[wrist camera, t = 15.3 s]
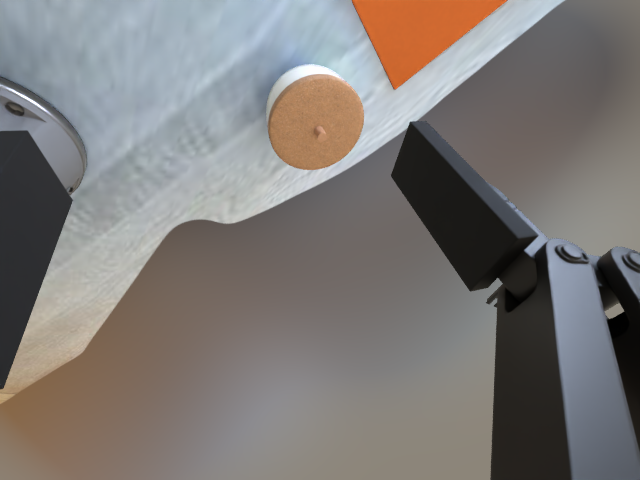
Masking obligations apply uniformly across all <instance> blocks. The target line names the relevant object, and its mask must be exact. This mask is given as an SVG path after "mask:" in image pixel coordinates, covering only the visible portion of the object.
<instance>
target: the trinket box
mask: <svg viewBox="0 0 640 480" xmlns="http://www.w3.org/2000/svg"><path fill="white" fill-rule="evenodd" d="M266 122H267V127H268V133H269V138H270V141H271V144H272V147H273V149H274V151H275V152H276V154H277V155H278V156H279V157H280V158H281V159H282V160H283V161H284V162H285V163H287V164H289V165H290V166H293V167H295V168H299V169H305V170H316V169H321V168H325V167H328V166H330V165H332V164H335V163H336V162H338V161H340V160H341V159H342V158H343V157H345V156H346V155H347V154H348V153H349V152H350V151H351V150H352V148H353V147H354V146H355V144H356V142H357V141H358V139H359V137H360V134H361V132H362V128H363V122H364V110H363V106H362V103H361V100H360V98H359V96H358V95H357V93H356V92H355V90H354V89H353V88H352V87H351V86H350V85H349V84H348V83H347V82H346V81H345V80H344V79H343V78H342V77H341V76H339V75H338V74H336V73H335V72H334V71H332V70H330V69H328V68H326V67H323V66H319V65H313V64H307V65H301V66H297V67H294V68H292V69H290V70H288V71H287V72H286V73H284V74H283V75H282V76H281V77H280V78H279V79H278V80H277V81H276V83H275V84H274V85H273V87H272V89H271V91H270V94H269V97H268V100H267V106H266Z"/></svg>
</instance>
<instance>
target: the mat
mask: <svg viewBox="0 0 640 480" xmlns="http://www.w3.org/2000/svg"><path fill="white" fill-rule="evenodd" d="M506 1H507V0H352V3H353V5H354V7H355V9H356V11H357V13H358V15H359V17H360V19H361V21H362V23H363V25H364V28H365V30H366V32H367V34H368V36H369V38H370V40H371V42H372V44H373V46H374V48H375V50H376V52H377V55H378V57H379V59H380V61H381V63H382V65H383V67H384V69H385V71H386V73H387V75H388V77H389V80H390V82H391V84H392V86H393V88H394V89H397V88H398V87H399V86H400V85H402V84H403V83H404V82H405V81H407V80H408V79H409V78H410V77H412V76H413V75H414V74H416V73H417V72H418V71H419V70H421V69H422V68H423V67H424V66H426V65H427V64H428V63H429V62H431V61H432V60H433V59H434V58H436V57H437V56H438V55H439V54H441V53H442V52H443V51H444V50H446V49H447V48H448V47H449V46H451V45H452V44H453V43H455V42H456V41H457V40H458V39H460V38H461V37H462V36H463V35H465V34H466V33H467V32H468V31H470V30H471V29H472V28H473V27H475V26H476V25H477V24H478V23H480V22H481V21H482V20H483V19H485V18H486V17H487V16H488V15H490V14H491V13H492V12H493V11H495V10H496V9H497V8H499V7H500V6H501V5H502V4H504V3H505V2H506Z"/></svg>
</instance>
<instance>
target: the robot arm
mask: <svg viewBox="0 0 640 480" xmlns="http://www.w3.org/2000/svg"><path fill="white" fill-rule="evenodd" d="M86 165H87V156H86V151H85V148H84V145H83V143H82V141H81V139H80V137H79V135H78V134H77V132H76V131H75V129H74V128H73V127H72V126H71V124H70V123H69V122H68V121H67V120H66V119H65V118H64V117H63V116H62V115H61V114H60V113H59V112H58V111H57V110H56V109H55V108H53V107H52V106H51V105H50V104H48V103H47V102H46V101H44V100H43V99H41V98H40V97H38V96H37V95H35V94H34V93H32V92H30V91H29V90H27V89H25V88H23V87H21V86H19V85H17V84H15V83H13V82H11V81H9V80H7V79H4V78H2V77H0V389H3V388H4V385H5V383H6V380H7V377H8V375H9V372H10V369H11V366H12V364H13V361H14V358H15V356H16V353H17V350H18V347H19V345H20V342H21V339H22V337H23V334H24V331H25V328H26V326H27V323H28V320H29V318H30V315H31V312H32V309H33V307H34V304H35V301H36V299H37V296H38V293H39V290H40V288H41V285H42V282H43V280H44V277H45V274H46V271H47V269H48V266H49V263H50V261H51V258H52V255H53V252H54V250H55V247H56V244H57V242H58V239H59V236H60V234H61V231H62V228H63V225H64V223H65V220H66V217H67V215H68V212H69V209H70V206H71V204H72V201H73V200H72V198H71V197H70V195H71V194H72V193H73V192H74V191H75V190H76V189H77V188H78V186H79V185H80V183H81V181H82V178H83V176H84V173H85V170H86ZM391 177H392V178H393V180H394V181H395V183H396V184H397V186H398V187H399V189H400V190H401V191H402V193H403V194H404V196H405V197H406V199H407V200H408V201H409V203H410V204H411V206H412V208H413V209H414V210H415V212H416V213H417V215H418V216H419V218H420V219H421V221H422V222H423V224H424V225H425V226H426V228H427V229H428V231H429V232H430V234H431V235H432V237H433V238H434V239H435V241H436V243H437V244H438V245H439V247H440V248H441V250H442V251H443V252H444V254H445V256H446V257H447V259H448V260H449V261H450V263H451V264H452V266H453V267H454V268H455V270H456V271H457V273H458V275H459V276H460V277H461V279H462V280H463V282H464V283H465V285H466V286H467V288H468V289H469V291H475V290H479V289H484V288H488V287H489V286H490V285H491V284H492V283H493V282H494V281H495V280H496V278H499V279H500V281H501V282H502V283H503V284H502V285H501V286H500V287H499V288H498V289H497V290H496V291H495V292H494V293H493V294H492V295H491V296H490V297H489V298H488V299H487V302H486V303H487V304H490V303H491V302H492V301H493V300H494V299H495V298H498V300H497V303H496V304H495V305H494V307H497V326H496V353H495V354H496V355H495V377H494V403H493V404H494V405H493V431H492V455H491V480H640V253H638V252H637V251H635V250H631V249H628V248H625V247H615V248H612V249H611V250H610V251H608V252H607V253H606V254H605V255H603V256H602V257H601V256H593V255H587V254H586V253H585V252H584V251H583V250H582V249H581V248H579V247H578V246H577V245H575V244H573V243H571V242H569V241H567V240H563V239H559V238H554V239H553V238H552V239H550V240H549V239H548V238H547V237H546V236H545V235H544V234H543V233H542V232H541V231H540V230H539V229H538V228H537V227H536V226H535V225H534V224H533V223H532V222H531V221H530V220H529V219H528V218H527V217H526V216H525V215H524V214H523V213H522V212H521V211H520V210H517V207H516V206H515V205H514V204H513V203H512V202H509V199H508V198H506V196H505V195H504V194H503V193H502V192H501V191H499V190H498V189H497V188H495V187H493V186H492V185H490V184H489V183H487V182H486V181H485V180H484V179H483V178H482V177H481V176H480V175H479V174H478V173H477V172H476V171H475V170H474V169H473V168H472V167H471V166H470V165H469V164H468V163H467V162H466V161H465V160H464V159H463V158H462V157H461V156H460V155H459V154H458V153H457V152H456V151H455V150H454V149H453V148H452V147H451V146H450V145H449V144H448V143H447V142H446V141H445V140H444V139H443V138H442V137H441V136H440V135H439V134H438V133H437V132H436V131H435V130H434V129H433V128H432V127H431V126H430V125H429V124H428V123H427V122H426V121H420V122H419V121H418V122H410V124H409V127H408V129H407V132H406V135H405V138H404V141H403V143H402V146H401V149H400V152H399V155H398V157H397V160H396V163H395V166H394V169H393V171H392V174H391ZM618 303H620V304H621V306H622V308H623V309H624V312H623V313H621V314H619V315H617V316H616V317H614V318H611V319H609V318H607V316H606V315H605V312H604V311H606V310H608V309H609V308H611V307H613V306H614V305H616V304H618Z"/></svg>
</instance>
